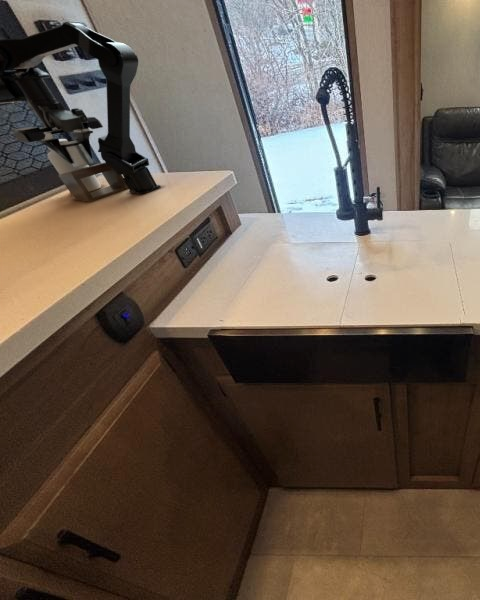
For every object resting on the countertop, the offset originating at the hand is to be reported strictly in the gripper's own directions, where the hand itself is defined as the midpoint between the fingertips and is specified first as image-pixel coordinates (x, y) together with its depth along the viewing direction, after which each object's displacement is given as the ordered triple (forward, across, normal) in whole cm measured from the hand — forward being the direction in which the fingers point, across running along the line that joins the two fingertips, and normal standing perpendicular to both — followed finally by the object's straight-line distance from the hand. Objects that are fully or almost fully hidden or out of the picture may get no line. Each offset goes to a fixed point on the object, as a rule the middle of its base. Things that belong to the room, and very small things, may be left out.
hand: (81, 160), depth 96 cm
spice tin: (+1, 0, 0) cm, 1 cm away
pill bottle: (+10, +1, +10) cm, 14 cm away
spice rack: (+10, 0, 0) cm, 10 cm away
